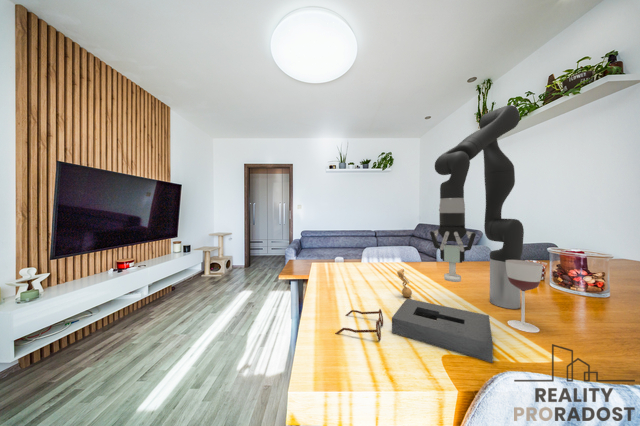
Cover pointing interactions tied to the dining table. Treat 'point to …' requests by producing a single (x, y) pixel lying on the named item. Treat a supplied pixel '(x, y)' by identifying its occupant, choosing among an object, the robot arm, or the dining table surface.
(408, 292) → the figurine
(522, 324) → the wineglass
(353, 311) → the glasses
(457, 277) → the keyhole peg
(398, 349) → the dining table surface
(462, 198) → the robot arm
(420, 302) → the keyhole plate
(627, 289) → the dining table surface
